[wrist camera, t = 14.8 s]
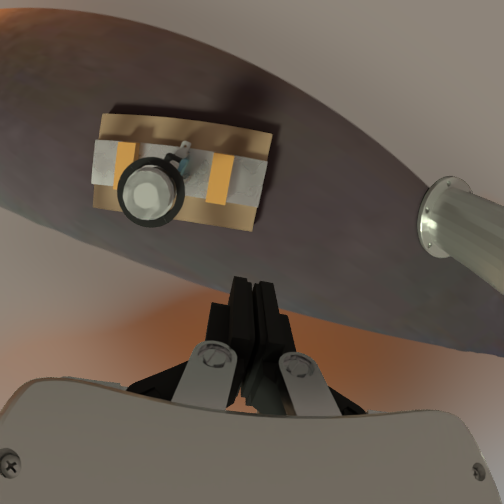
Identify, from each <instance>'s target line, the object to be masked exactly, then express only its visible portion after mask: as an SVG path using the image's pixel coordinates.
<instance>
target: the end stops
mask: <svg viewBox="0 0 504 504" xmlns="http://www.w3.org/2000/svg"><path fill="white" fill-rule="evenodd" d="M139 148H140V143H137V142H124V141H123V142H118V146H117V154H116V163H115V172H114V183H113V189H115V190H117V186H118V182H119V179H120V176H121V175H122V173H123V171H124V170H125V169H126V168H127V167H128V166H129V165H130V164H131V163H133V162H134V161H136V160H138V155H139ZM233 161H234V155H229V154H224V153H217V152H214V155H213V161H212V166H211V172H210V177H209V183H208V189H207V195H206V201H205V202H208V203H215V204H221V205H225V203H226V198H227V192H228V187H229V181H230V176H231V171H232V166H233Z"/></svg>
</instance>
